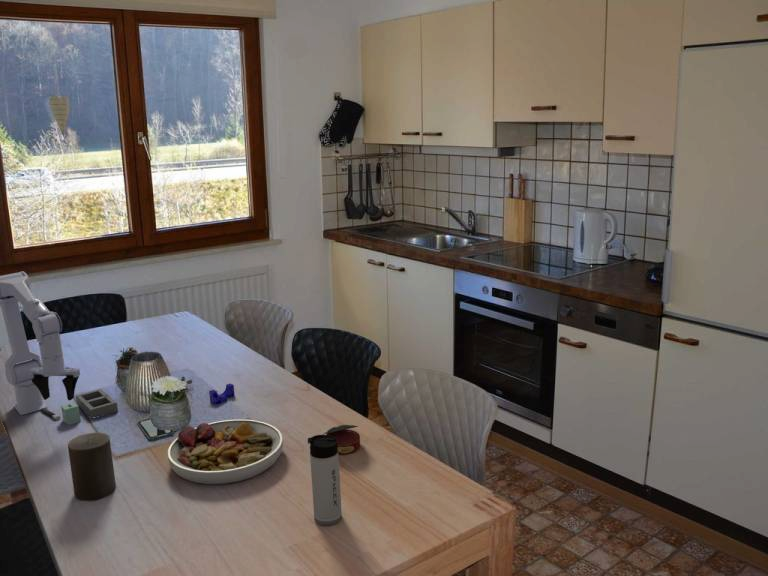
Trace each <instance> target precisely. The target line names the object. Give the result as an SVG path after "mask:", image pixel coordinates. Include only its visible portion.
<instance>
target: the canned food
mask: <svg viewBox="0 0 768 576" xmlns="http://www.w3.org/2000/svg"><path fill="white" fill-rule="evenodd" d="M353 428H358V425H355V424H354V425H353V424H342V425H341V424H340V425H339V426H333V427H331V428H329V429H328V430H327V431H326V432H324V433H323V435H329V436H332V437H334V438H335V439H336V441H337V443H338V456H348V455H351V454H354V453H356V452H358V451H359V450H360V448H361V439H360V438H361V435H360V433H359V432H357V431H356V430H352V429H353Z"/></svg>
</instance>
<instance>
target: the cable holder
mask: <svg viewBox="0 0 768 576" xmlns="http://www.w3.org/2000/svg"><path fill="white" fill-rule="evenodd" d="M208 392H209V393H208V394H209V403H211V404H213V405H216V406H218V405H221V404H224V403H225V402H228V399H230V398H232V397H235V386H234V384H233V383H228V384H227V383H226V384H225V390H224V391H223V392H221V393H220V394H219V393H218V391H217V390H216V389H211V390H208Z"/></svg>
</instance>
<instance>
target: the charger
mask: <svg viewBox="0 0 768 576" xmlns="http://www.w3.org/2000/svg"><path fill="white" fill-rule="evenodd" d="M60 408H61V414H62V421H63V422H64V423H65V424H66V425H67V426H68V425H72V424H76V423H79V422H82V418H81V413H80V407H79V406H78V405H77V402H70V403H66V404H64V405H60Z"/></svg>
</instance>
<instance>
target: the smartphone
mask: <svg viewBox="0 0 768 576" xmlns="http://www.w3.org/2000/svg"><path fill="white" fill-rule="evenodd" d="M150 418H151V417H150ZM150 418H146V419H142V420H138V421H137V425H138V427H139V428H140V430H141V431H142V433H143V434H144V435H145V437H146V438H147V440H148V441H149V442H150V441H157V440H160V439H164V438H168V437H170V436H174V434H175V431H174V429H172V430H159V429H157V428H156V427H154V426H153V424H152V422H151V419H150Z"/></svg>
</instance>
